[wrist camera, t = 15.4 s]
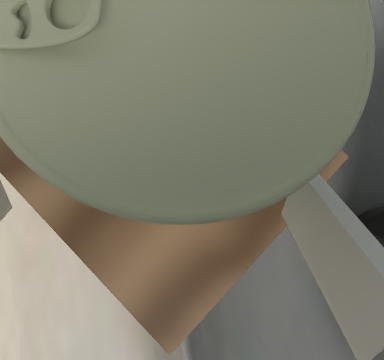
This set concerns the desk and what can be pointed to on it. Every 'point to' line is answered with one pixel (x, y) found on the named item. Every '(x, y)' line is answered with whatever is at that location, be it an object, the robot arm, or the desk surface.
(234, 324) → the desk surface
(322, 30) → the can
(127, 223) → the walnut block
